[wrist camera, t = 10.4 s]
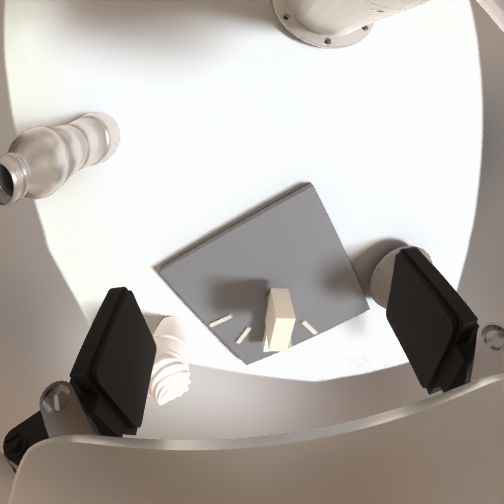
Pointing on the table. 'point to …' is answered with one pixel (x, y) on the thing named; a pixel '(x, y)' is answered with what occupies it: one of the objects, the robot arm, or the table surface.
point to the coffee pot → (386, 276)
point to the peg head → (278, 320)
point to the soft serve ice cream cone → (169, 361)
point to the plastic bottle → (55, 156)
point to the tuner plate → (270, 274)
